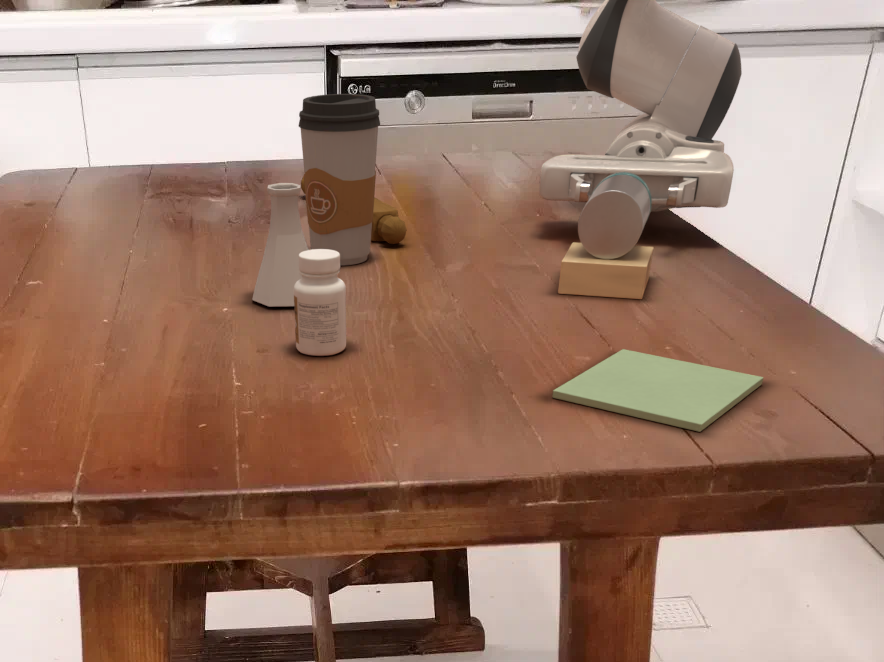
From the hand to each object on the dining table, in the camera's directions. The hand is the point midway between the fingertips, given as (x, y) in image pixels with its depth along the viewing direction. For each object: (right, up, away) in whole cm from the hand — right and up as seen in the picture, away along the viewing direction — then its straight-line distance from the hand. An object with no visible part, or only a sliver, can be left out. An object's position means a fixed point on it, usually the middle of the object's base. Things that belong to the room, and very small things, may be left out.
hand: (627, 195), depth 114 cm
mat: (-6, -30, -29) cm, 42 cm away
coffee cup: (-30, -4, +5) cm, 31 cm away
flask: (-35, -14, -7) cm, 38 cm away
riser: (-4, -12, -5) cm, 13 cm away
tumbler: (-3, -8, -5) cm, 10 cm away
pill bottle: (-32, -23, -19) cm, 44 cm away
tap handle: (-28, +7, +19) cm, 35 cm away
